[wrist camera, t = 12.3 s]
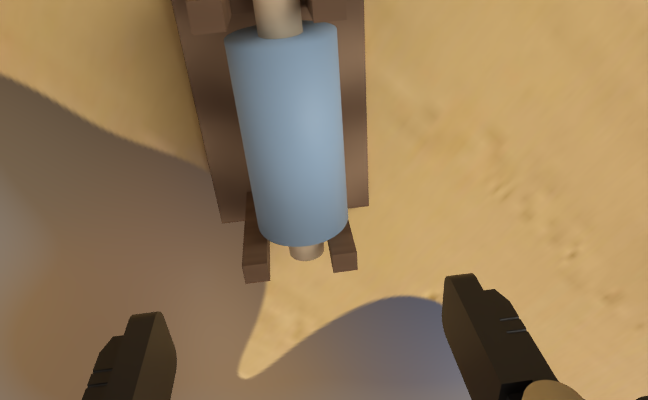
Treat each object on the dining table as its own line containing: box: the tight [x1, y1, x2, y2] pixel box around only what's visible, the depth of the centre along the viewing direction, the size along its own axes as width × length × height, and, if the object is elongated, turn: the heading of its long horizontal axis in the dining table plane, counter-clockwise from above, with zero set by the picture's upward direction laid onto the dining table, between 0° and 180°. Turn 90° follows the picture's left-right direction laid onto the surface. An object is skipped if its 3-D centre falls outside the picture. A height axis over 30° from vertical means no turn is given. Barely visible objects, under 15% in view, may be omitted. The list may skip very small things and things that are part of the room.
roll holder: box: [171, 0, 369, 284], centre depth 25 cm, size 16×10×8 cm, turn 4°
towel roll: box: [224, 0, 348, 261], centre depth 23 cm, size 14×5×5 cm, turn 4°
